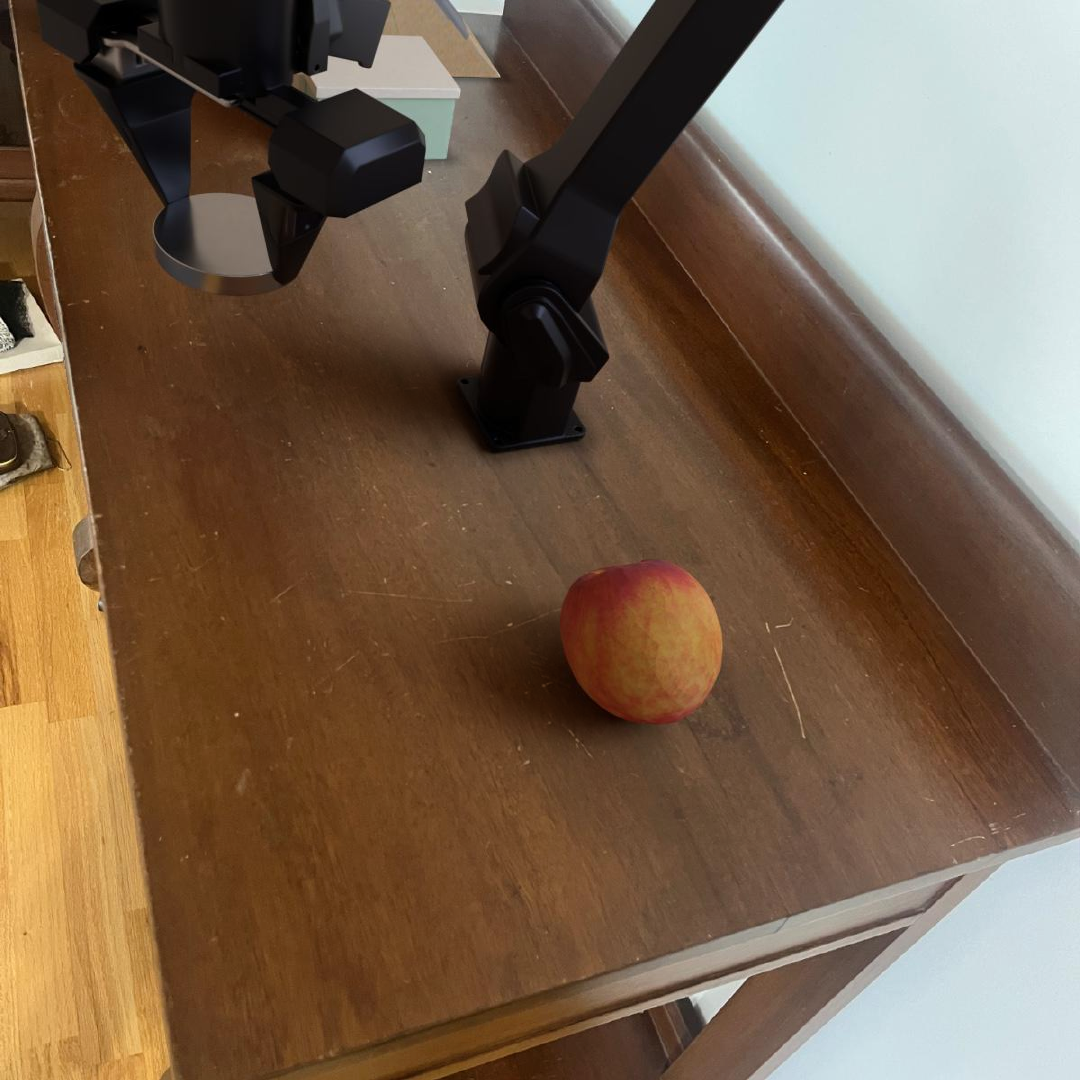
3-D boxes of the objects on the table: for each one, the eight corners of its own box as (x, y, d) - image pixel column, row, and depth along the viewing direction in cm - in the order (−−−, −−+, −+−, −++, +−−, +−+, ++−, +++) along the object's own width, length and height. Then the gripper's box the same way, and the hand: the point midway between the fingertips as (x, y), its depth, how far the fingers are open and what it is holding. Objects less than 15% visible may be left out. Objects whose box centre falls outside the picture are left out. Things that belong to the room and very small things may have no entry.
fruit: (674, 617, 55) (725, 520, 49) (713, 749, 50) (775, 657, 44) (535, 617, 53) (571, 515, 47) (561, 754, 48) (605, 659, 42)
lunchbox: (417, 106, 87) (426, 36, 83) (454, 160, 82) (465, 88, 78) (277, 106, 82) (278, 31, 78) (307, 163, 77) (311, 87, 73)
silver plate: (321, 299, 52) (323, 270, 50) (172, 312, 49) (170, 281, 47) (281, 219, 56) (282, 189, 54) (141, 226, 53) (138, 195, 51)
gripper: (528, -34, 43) (469, 275, 54) (213, -191, 48) (220, 123, 59) (351, 18, 36) (325, 361, 47) (1, -173, 40) (55, 180, 52)
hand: (231, 245), depth 51 cm, fingers closed on silver plate, 7 cm apart
